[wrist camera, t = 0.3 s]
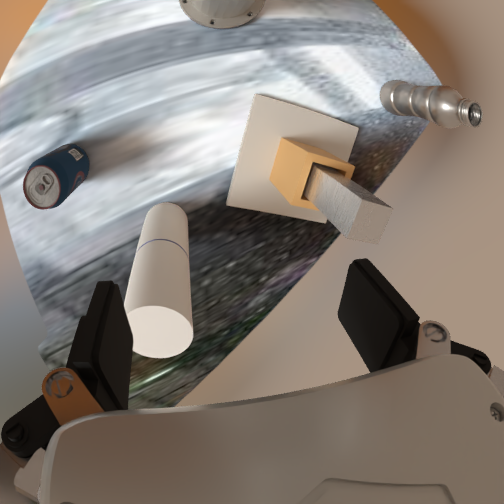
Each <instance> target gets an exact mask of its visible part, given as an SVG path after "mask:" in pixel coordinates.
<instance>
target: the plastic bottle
mask: <svg viewBox="0 0 504 504" xmlns="http://www.w3.org/2000/svg"><path fill="white" fill-rule="evenodd" d="M380 100H381V103H382V105H383V107H384V108H385V109H386V110H387V111H388V112H390V113H392V114H394V115H397V116H416V117H420V118H423V119H426V120H429V121H431V122H433V123H435V124H437V125H439V126H441V127H444V128H447V129H450V128H456V127H458V126H460V125H462V124H463V125H465V126H471V127H478V126H479V125H480V124H481V122H482V116H483V114H482V109H481V106H480V105H479V103H477V102H475V101H472V100H469V99H466V98H463V97H462V96H461V95H460V94H459V92H457V91H456V90H455V89H453V88H451V87H449V86H417V85H413V84H409V83H406V82H404V81H400V80H392V81H388V82H386V83H385V84H384V85H383V86H382V88H381V91H380Z"/></svg>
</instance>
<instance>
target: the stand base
mask: <svg viewBox="0 0 504 504" xmlns="http://www.w3.org/2000/svg"><path fill="white" fill-rule="evenodd" d="M358 129H359V128H358V127H355V126H353V125H350V124H347V123H345V122H342V121H340V120H337V119H334V118H331V117H329V116H326V115H323V114H320V113H317V112H314V111H311V110H308V109H305V108H302V107H299V106H296V105H293V104H289V103H286V102H283V101H279V100H276V99H272V98H269V97H265V96H261V95H258V94H254V98H253V102H252V105H251V109H250V112H249V116H248V120H247V123H246V127H245V131H244V134H243V138H242V142H241V146H240V150H239V153H238V157H237V161H236V165H235V169H234V173H233V177H232V181H231V185H230V189H229V193H228V197H227V201H226V204H227V206H233V207H239V208H245V209H251V210H256V211H262V212H268V213H273V214H279V215H284V216H290V217H295V218H300V219H305V220H311V221H316V222H321V223H326V221H327V217H326V216H325V215H324V214H323V213H322V212H321V211H320V210H319V209H318V208H317V207H316V206H315V205H314V204H313V203H312V202H311V201H310V200H308V199H307V198H306V197H305V196H304V195H303V194H302V193H303V190H304V187H305V184H306V181H307V178H308V175H309V172H310V169H311V166H312V162H315V163H319V164H322V165H326V166H329V167H332V168H333V169H335V170H338V172H339V173H341V174H342V175H344V176H346V177H347V178H349V179H350V180H351V177H352V174H353V171H354V168H355V166H353V165H351V164H349V163H348V160H349V157H350V154H351V151H352V148H353V145H354V142H355V139H356V135H357V132H358Z"/></svg>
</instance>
